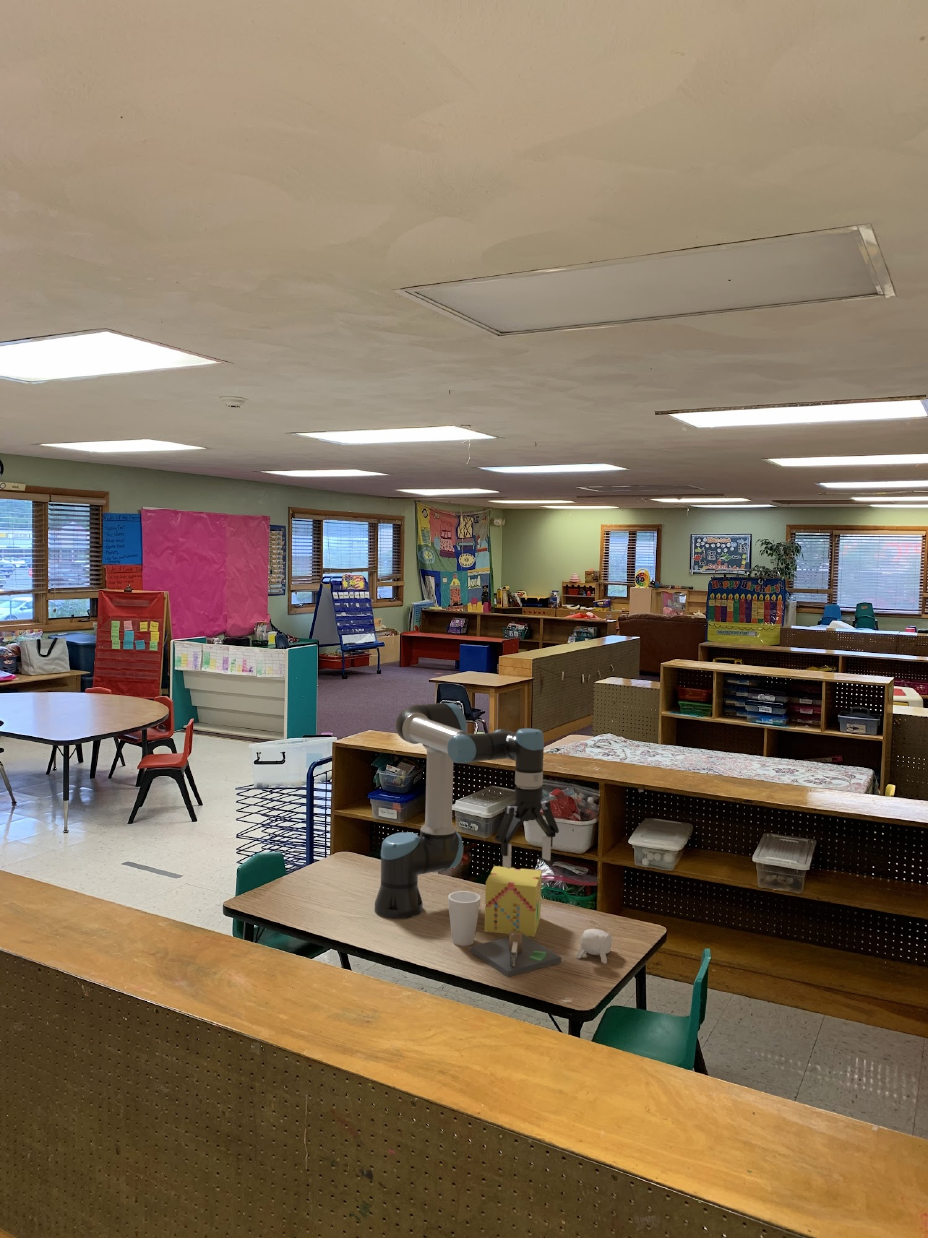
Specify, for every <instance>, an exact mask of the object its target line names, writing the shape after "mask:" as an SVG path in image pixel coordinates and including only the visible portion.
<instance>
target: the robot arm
mask: <svg viewBox="0 0 928 1238" xmlns="http://www.w3.org/2000/svg"><path fill="white" fill-rule="evenodd" d="M395 730H396V733H397V734H398V736H399V737H400V738H401V740H403V741H405V742H407V743H409V744H412V745H417V744H421V745H422V747H423V748H425V750H426V773H425V775H426V777H425V778H426V779H425V784H426V785H425V816H424V818H425V820H424V824H423V825H422V826H421V827H420V835H418V834H417V833H416V832H415V833H414V832H410V831H409V832H407V831H406V832H403V831H401V832H396V833H393V834H391V835H389V836H387V837H385V838H384V839H383V841H382V842H381V850H380V865H381V866H380V887H379V889H378V892H377V894H376V897H375V898H376V899H375V901H374V912H375V913H376V915H379V916H381V917H384V918H390V919H409V918H413V917H416V916H419V915H420V914H421V913H422V912H423V905H424V904H423V899H422V896H421V893H420V890H419V886H418V882H419V881H418V879H419V875H425V874H430V873H435V872H446V871H447V870H451V869H454V868H456V867H457V866H458V865H460V863H461V861H462V858H463V854H464V844H463V842H462V840H463V838H462V837H461V835H460V833H458V832H457V828H456V826H454V825H453V795H454V794H453V788H454V785H453V784H454V763H456V764H468V763H476V762H477V763H478V762H484V761H486V762H487V761H495V760H504V759H505V760H507V759H508V760H511V761H515V770H514V772H515V775H514V784H515V785H516V786H515V787H514V800H515V805H514V806H510V805H506V806H505V808H504V815H503V818H502V819H501V823H500V824H499V827H498V830H497V831H496V832H497V833H496V834H495V837H494V841H496V842H498V843H500V844H501V845H500V854H501V856H502V867H506V868H508V869H510V868H512V843H510V842H511V841H512V839H513V838H514V836H515V835H516V833H517V831H518V829H519V828H520V826H521V825H523V824H524V823H525V822H529V821H535V822H536V823H537V825H538V826H539V827H540V828H541V829H542V831H543V832H544V834H543V835H542V845H541V846H542V848H541V849H542V851H541V858H542V859H543V860H546V861H548V862H549V861H551V857H552V856H551V854H552V853H551V851H552V848H553V842H554V841H553V840H554V838H555V837H556V834H558V833H559V831H560V830H559V827H558V824H557V822H556V819H555V817H554V814H553V811H552V808H551V802H550V801H548V800H545V799H543V791H544V790H543V787H542V786H543V780H544V753H545V752H544V751H545V750H544V749H545V744H544V743H545V742H544V741H545V739H544V732H543V731H542V730H540V729H538V728H530V727H529V728H527V727H526V728H518V729H517V731H516V732H514V731H511V730H508V729H496V730H494V731H493V732H485V733H484V732H483V733H470V732H467V721H466V717H465V714H464V712H463V710H462V708H460V706H459V705H458V704H456V703H452V702H449V703H448V702H439V703H438V702H437V703H435V702H434V703H427V704H426V703H424V704H423V703H422V704H413V705H409V706H407V707H406V708H404V709H402V710H401V712H400V713H399V714H398V716H397V717H396V721H395ZM541 810H542V813H543V814H542V813H541ZM543 815H544V816H543ZM544 817H545V818H544Z"/></svg>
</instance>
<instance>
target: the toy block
mask: <svg viewBox="0 0 928 1238" xmlns="http://www.w3.org/2000/svg"><path fill="white" fill-rule="evenodd" d="M542 874H543V870H540V869H539V870H538V869H531V868H530V869H529V868H519V869H517V868H515V867H511V868H510V869H508V868H506V867H504V866H497V865H493V868H492V869H491V871H490V874H489V875H488V877H487V878H486V881H485V897H484V898H485V899H484V902H485V903H484V904H485V905H484V932H485V933H496V934H505V935H509V934H510V932H511V931H520V932H522V934H524V935H525V936H527V937H532V938H535V937H536V932H537V930H538V926H539V925H540V920H541V914H542V913H541V912H542V911H541V907H542V905H541V904H542V899H541V898H542V880H543V878H542V877H543V876H542Z"/></svg>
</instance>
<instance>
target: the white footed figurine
mask: <svg viewBox="0 0 928 1238" xmlns="http://www.w3.org/2000/svg"><path fill="white" fill-rule="evenodd" d="M612 939H613V937H612V934H610V933H608V932H606V931H603V930H601V929H597V928H590V929H588V928H587V929H585V930H584V932H583V933H582V934H581V937H580V948H579V950H577V953H576V955H575V958H576V959H578V960H579V959H581V958H582V957H583V955H584V954H586V953H588V954H590V955H594V956H600V960H601V961H600V962H601V963H602V964H605V965H606V964H607V963H608V958H607V954H608V953H610V951H611V949H612V942H613V941H612Z"/></svg>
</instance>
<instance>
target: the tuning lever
mask: <svg viewBox="0 0 928 1238" xmlns="http://www.w3.org/2000/svg"><path fill="white" fill-rule="evenodd" d="M508 935H509V936H508V937H509V951H510V952H511V956H510V966H514V967H515V966H516V957H517V953H520V952H522V932H520V931H511V932H510V934H508Z"/></svg>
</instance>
